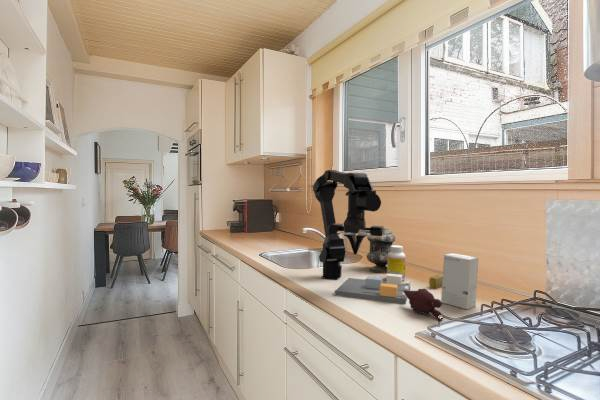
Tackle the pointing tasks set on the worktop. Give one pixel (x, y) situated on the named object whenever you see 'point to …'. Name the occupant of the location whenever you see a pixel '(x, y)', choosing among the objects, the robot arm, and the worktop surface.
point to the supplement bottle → (396, 261)
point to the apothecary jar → (380, 250)
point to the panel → (370, 291)
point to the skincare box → (459, 280)
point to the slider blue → (373, 282)
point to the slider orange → (388, 290)
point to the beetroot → (424, 302)
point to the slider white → (394, 279)
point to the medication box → (436, 281)
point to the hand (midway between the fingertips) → (355, 254)
